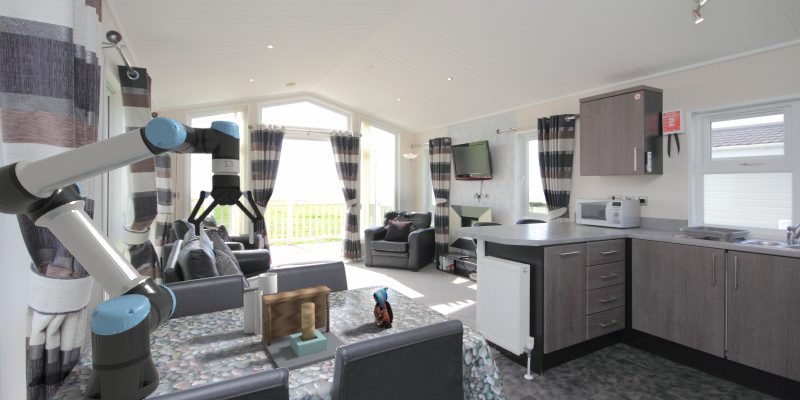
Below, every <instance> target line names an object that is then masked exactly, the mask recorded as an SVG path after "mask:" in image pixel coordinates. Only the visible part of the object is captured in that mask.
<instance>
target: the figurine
mask: <svg viewBox="0 0 800 400" xmlns="http://www.w3.org/2000/svg"><path fill="white" fill-rule="evenodd" d="M387 290H389V287H388V286H385V287H384V288H380V289H378V290H376V291H375V292H373V294H372V297H373V300H375V301H374V302H375V305H374V309H373V315H374V317H375V319H374V324H376V326H377V327H380V328H383V329H392V328H393V324H392V323H393V320H394V312H393V310H392V305H391V303H390V302H389V301H388V291H387Z"/></svg>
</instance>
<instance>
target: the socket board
mask: <svg viewBox="0 0 800 400" xmlns="http://www.w3.org/2000/svg"><path fill="white" fill-rule="evenodd" d="M261 343H262V344H263V346H264V348H265V350H266V351H267V352H268V355H269V356H270V358H271V359H272V361H273V363H274V364H275V366H276V368H277V369H278V368H280V367H287V368H288V369H289V371H288V372H290V371H294V370H297V369H301V368H304V367H308V366H311V365H316V364H318V363H323V362H326V361H329V360H333V359H336V358H335V351H336V348H337V347H338V346H341V345H347V344H346V343H345V342H344V341H342V340H341V338H339V337H338V336H337V335H336V334H334V332H332V331H331V330H330V332H326V327H323V328H319V329H315V339H313V340H308V341H304V342H303V341H302V332H301V333H296V334H292V335H287V336H283V337H278V338H274V339H271V346H267V340H265V341H262V340H261Z"/></svg>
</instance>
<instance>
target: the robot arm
mask: <svg viewBox="0 0 800 400" xmlns="http://www.w3.org/2000/svg"><path fill="white" fill-rule="evenodd" d="M210 124H211V125H210V127H192V126H189V125H186V124H184V123H181V122H180V121H178V120H177V119H174V118H171V117H165V116H158V117H154V118H152V119H151V120H150V121H148V123H147V124H146V125H145V126H142V127H139V128H135V129H133V130H130V131H127V132H124V133H120V134H117V135H114V136H110V137H108V138H104V139H102V140H97V141H95V142H91V143H88V144H86V145H81V146H79V147H76V148H72V149H69V150H67V151H64V152H60V153H56V154H54V155H50V156H48V157H45V158H41V159H38V160H35V161H31V160H26V159H24V160H19V161H15V162H12V163H10V164H7V165H4V166H0V214H5V215H24V214H25V215H26V216H27V217H28V218H29V220H31V222H32V223H33V224H34V225H35V226H36V227H44V228H46V229H47V228H48V230H49V231H50V232H51V233H52V234H53V235H54V236H55V238H57V240H58V241H59V242H60V243H61V244H62V245H63V246H64V248H66V250H67V251H68V252H69V253H70V254H71V255H72V256H73V258H75V260H76V261H77V262H78V263H79V264H80V265H81V266H82V267H83V268H84V270H85V271H86V272H87V273H88V274H89V275H90V277H92V278H93V280H94V281H95V282H96V283H97V284H98V285H99V286H100V287H101V288H102V290H103V291H104V292H105V293H106V294H107V295H108V299H107V300H104V301H102V302H101V303H99V304H97V305H96V306H95V307H94V308H93V310H92V311H91V314H90V315H91V316H90V317H91V318H90V322H89V329H90V334H91V335H90V338H91V339H90V341H91V362H92V363H91V365H92V369H91V373H90V375H89V378H88V381H87V384H86V386H85V389H84V392H83V400H138V399H141V398H143V397H145V398H146V397H148V396H150V395H151V394H152V393H154V392H155V391H156V390H157V389H158V387H159V385H160V372H159V370H158V368H157V366H156V364H155V362H154V360H153V358H152V354H151V353H152V352H151V335H152V334H153V333H154V332H155V331H157V329H159V328H160V327H162V325H164V324H165V323H167V321H168V320H169V319H170V318H171V317H172V315H173V313H174V312H175V309H176V306H177V301H176V295H175V293H174V291H173V290H172V289H171V288H170V287H168V286H166V285H163V284H157V282H156V281H155V280H154V279H153V278H152V277H151V276H150V275H149V276H148V275H141V274H140V272H139V271H138V270H137V269H136V268H135V267H134V266H133V265H132V264H131V262H130V261H129V260H128V259H127V257H125V255H123V253H122V252H121V251H120V250H119V249H118V247H117V246H116V245H115V244H114V243H113V242H112V240H111V239H110V238H109V237H108V236H107V235H106V233H104V231H103V230H102V229H101V228H100V227H99V226H98V225H97V224H96V222H95V221H94V220H93V219H92V218H91V217H90V215H89V214H88V213H87V212H86V211H85V205H86V201H85V200H84V199H83V198H82V187H81V185H80V184H79V183H80V182H83V181H86V180H88V179H91V178H94V177H97V176H100V175H103V174H106V173H109V172H112V171H114V170H118V169H121V168H124V167H126V166H130V165H133V164H135V163H138V162H141V161H144V160H146V159H150V158H153V157H156V156H159V155H163V154H166V153H170V154H180V155H183V154H189V155H190V154H194V155H195V154H196V155H198V154H199V155H200V154H201V155H202V154H204V155H211V173H212V174H213V175H212V176H211V191H207V190H200V191H199V198H198V200H197V202H196V204H195V205H194V207H193V209H192V211H191V213H190V214H189V217H188V218H187V219H186V220H187V223H188V224H192V225H194V235H195V237H199V243H198V244H199V249H203V248H204V225H203V224H202V222H203V221H204V220H205V219H206V218H207V217H208V216H209V214H210V213H211V212H212V211H213V210H214V209H215V208H216V207H217V206H218V205H219V206H221V207H224V206H232V207H233V206H235V205H236V206H237V207H238V208H239V209H240V210H241V211H242V213H244V214H245V216H246V217H247V218H249V220H250V221H249V222H248V231H249V232H248V237H249V238H248V239H249V244H250V245H254V241H255V240H254V233H255V234H256V233H257V232H258V222H259V221H263V219H264V216H263V215H262V213H261V211H260V209H259V207H258V205H257V204H256V202H255V200H254V198H253V193H252V191H251V190H244V191H242V190H241V176H240V175H239V174H240V172H241V166H240V165H241V163H240V162H241V161H240V159H241V158H240V152H241V151H240V150H241V149H240V147H241V146H240V145H241V144H240V142H241V141H240V140H241V138H240V127H239V125H238V124H237V123H235V122H234V121H229V120H213V121H212V122H211V123H210ZM209 196H210V197H211V198H212V200H213V201H212V202H211V203H210V204H209V205H208V206H207V208H206V209H205V210H204V211H202V213H201V214H200V215H199V216H198V217H197V218H196V216H197V215H198V213H199V211H200V209H201V207H202V206H203V204H204V201H205V200H206V199H208V197H209ZM242 196H243V197H244V198H245V199H247V203H249V205H250V207H251V208H252V211H253V212H254V214H255V216H254V215H253V214H252V213H251V211H249V210H248V208H247V207H246V206H245V205H244V204H243V203H242V202H241V200H240V198H241V197H242ZM195 218H196V219H195ZM153 391H154V392H153ZM150 393H151V394H150ZM143 399H144V398H143ZM141 400H142V399H141Z"/></svg>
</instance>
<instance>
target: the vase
mask: <svg viewBox="0 0 800 400" xmlns="http://www.w3.org/2000/svg"><path fill="white" fill-rule="evenodd" d="M257 276H258V277H257V278H258V283H257V284H258V285H257V286H258V289H254V290H252V291H247V292H244V293H243V333H244V334H254V335H255V336H258V335H259V336H260V335H262V295H266V294H272V293H278V274H277V273H276V272H263V273H259V274H258V275H257Z"/></svg>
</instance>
